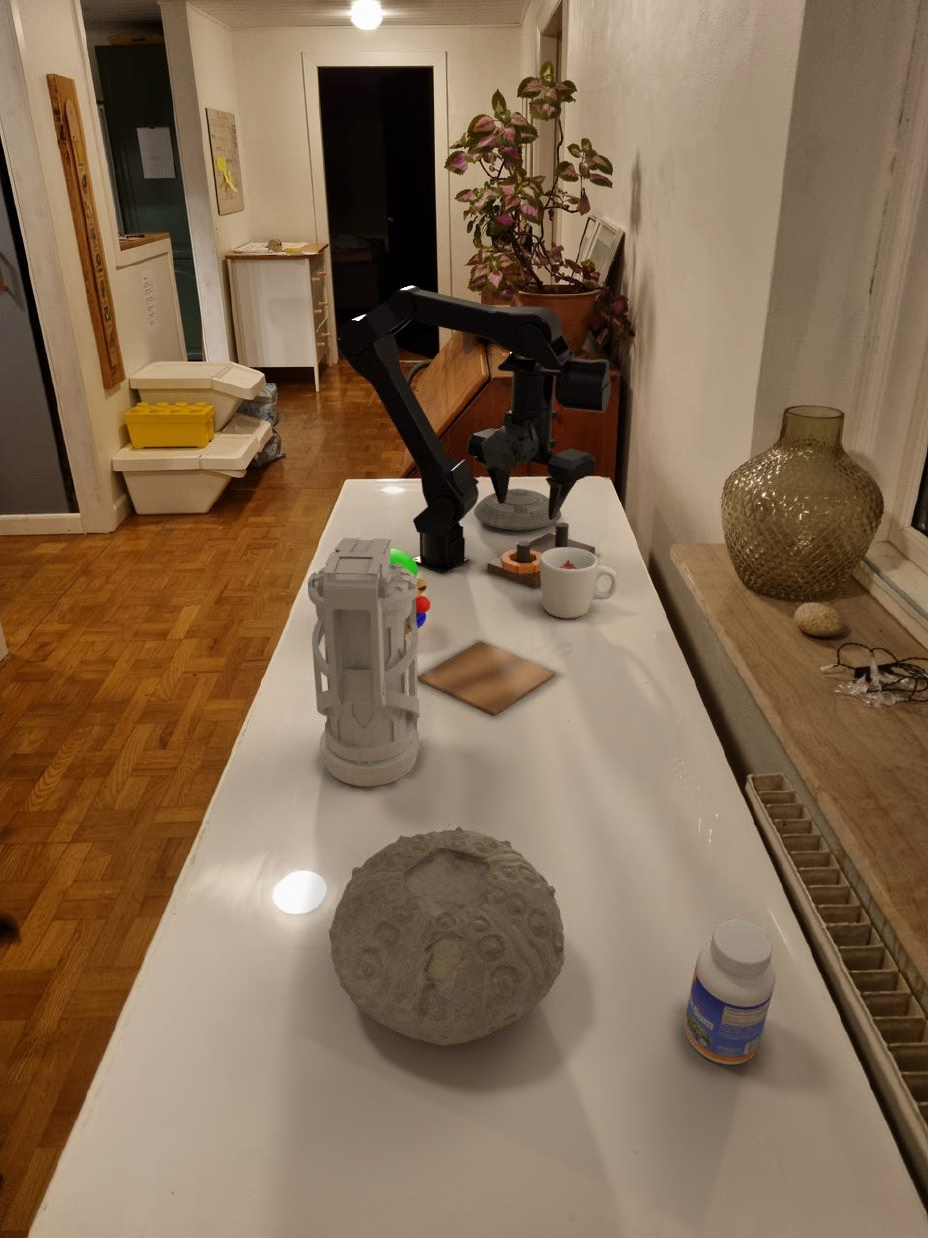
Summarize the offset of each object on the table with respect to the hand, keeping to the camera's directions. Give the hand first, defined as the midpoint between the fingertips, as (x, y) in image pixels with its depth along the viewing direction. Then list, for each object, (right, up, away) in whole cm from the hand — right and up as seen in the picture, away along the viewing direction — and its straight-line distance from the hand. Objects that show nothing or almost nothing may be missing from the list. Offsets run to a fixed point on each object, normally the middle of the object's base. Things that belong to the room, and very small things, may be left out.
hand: (526, 510), depth 134 cm
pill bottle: (+10, -47, -66) cm, 82 cm away
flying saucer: (0, +1, +25) cm, 25 cm away
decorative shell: (-10, -44, -62) cm, 76 cm away
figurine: (-19, -18, -13) cm, 29 cm away
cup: (+7, -15, -6) cm, 17 cm away
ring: (0, -8, +4) cm, 9 cm away
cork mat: (-6, -23, -22) cm, 32 cm away
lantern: (-19, -31, -38) cm, 53 cm away
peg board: (+3, -7, +9) cm, 12 cm away
